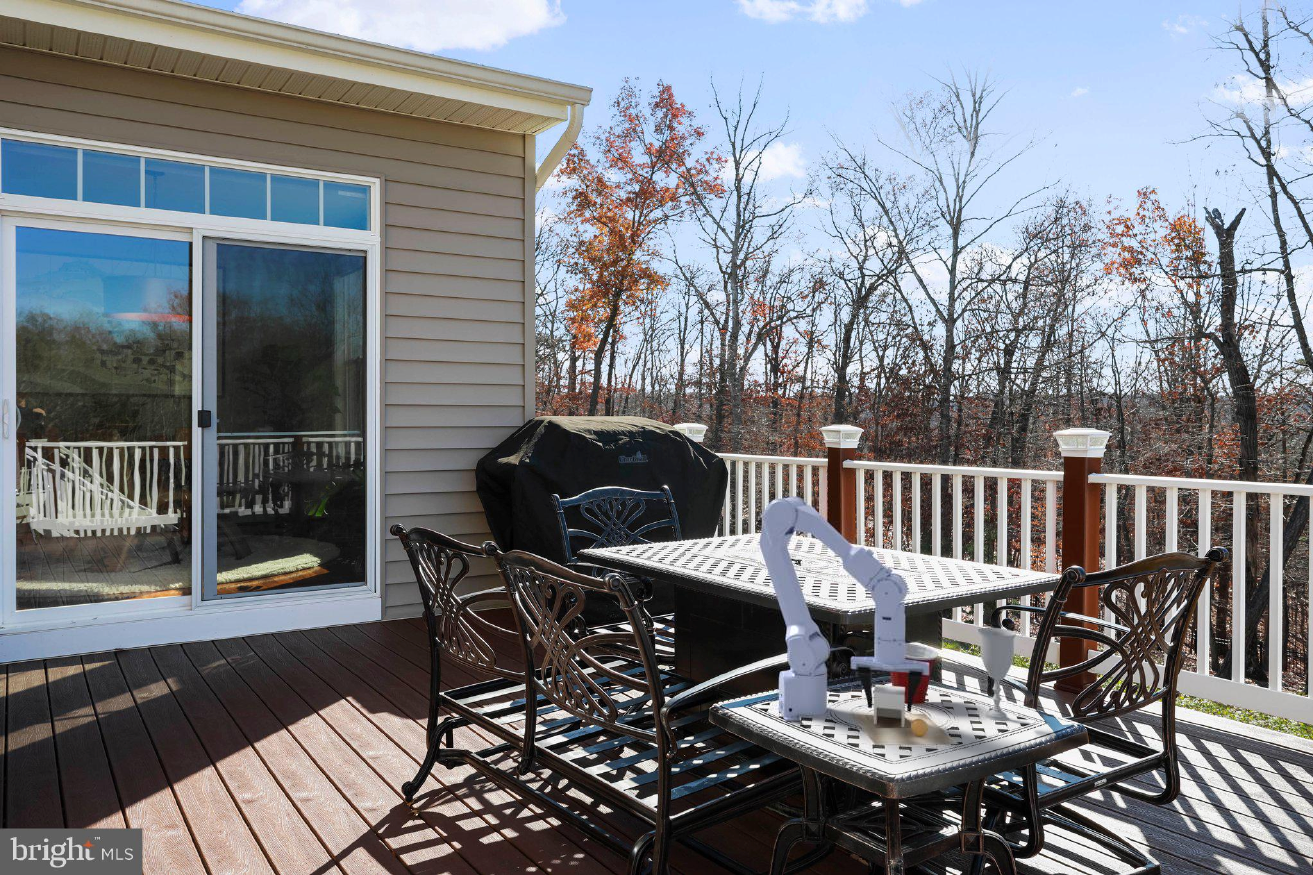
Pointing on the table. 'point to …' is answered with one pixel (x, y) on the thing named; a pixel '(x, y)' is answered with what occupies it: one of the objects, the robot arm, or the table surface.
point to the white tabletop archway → (889, 702)
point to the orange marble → (919, 727)
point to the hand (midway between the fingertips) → (889, 708)
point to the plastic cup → (928, 656)
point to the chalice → (997, 662)
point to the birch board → (900, 730)
